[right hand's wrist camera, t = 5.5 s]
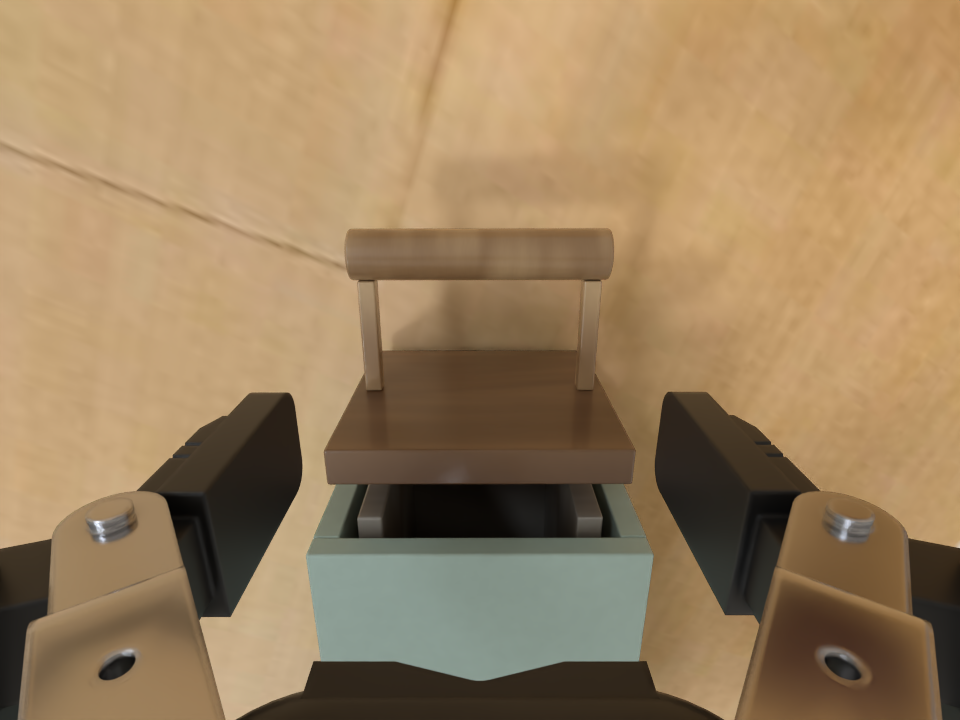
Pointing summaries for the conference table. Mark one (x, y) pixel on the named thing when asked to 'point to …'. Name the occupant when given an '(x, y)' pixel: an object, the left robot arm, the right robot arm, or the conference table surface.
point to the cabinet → (479, 594)
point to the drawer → (479, 399)
